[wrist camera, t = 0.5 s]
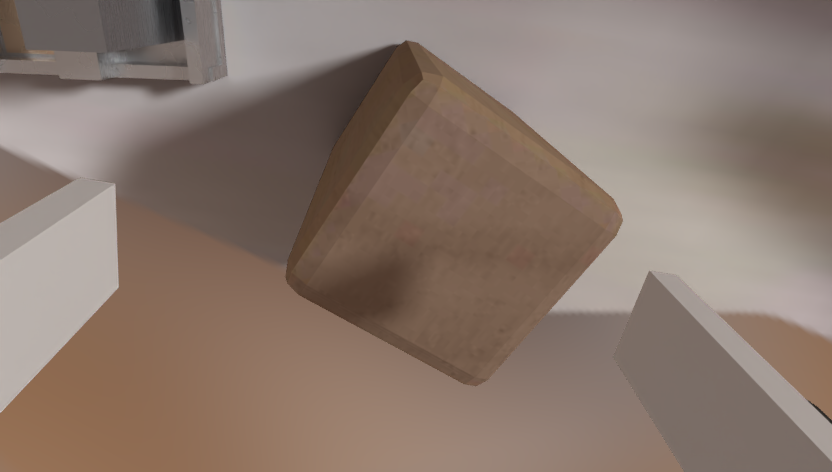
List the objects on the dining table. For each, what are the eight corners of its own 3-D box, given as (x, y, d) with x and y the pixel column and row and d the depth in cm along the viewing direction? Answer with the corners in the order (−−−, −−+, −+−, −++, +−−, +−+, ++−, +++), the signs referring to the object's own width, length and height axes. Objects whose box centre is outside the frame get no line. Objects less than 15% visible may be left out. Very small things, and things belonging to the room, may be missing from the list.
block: (439, 225, 41) (480, 403, 22) (327, 154, 38) (269, 291, 20) (520, 117, 38) (643, 221, 19) (404, 33, 35) (420, 61, 17)
